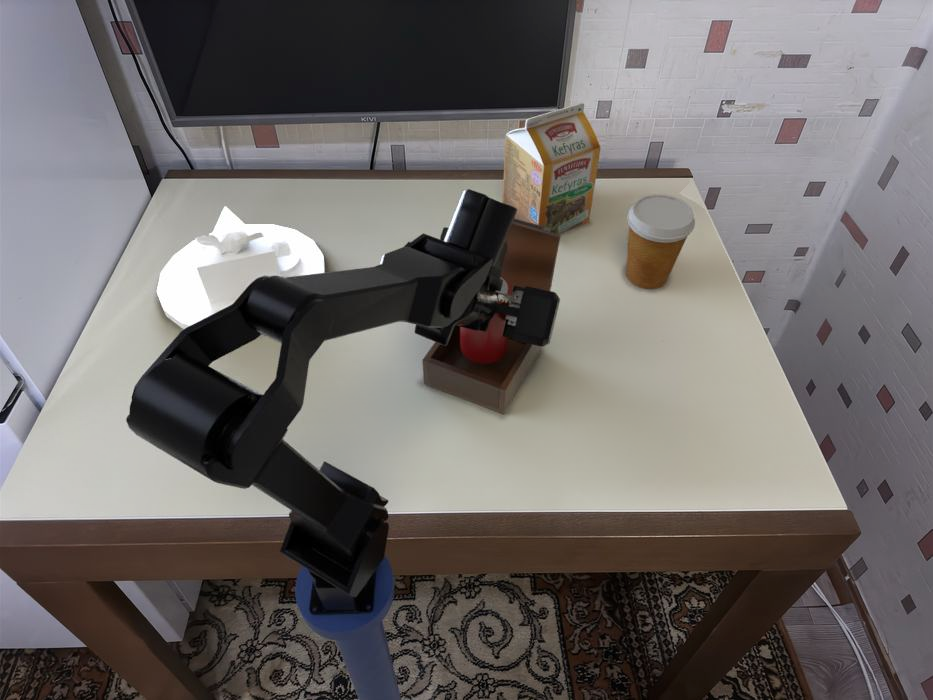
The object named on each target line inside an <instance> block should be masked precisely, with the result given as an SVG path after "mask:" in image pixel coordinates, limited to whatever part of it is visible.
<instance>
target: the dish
mask: <svg viewBox="0 0 933 700" xmlns="http://www.w3.org/2000/svg"><path fill="white" fill-rule="evenodd" d="M194 239H195V240H192V241H191V242H190V243H188V244H187V245H186V246H184V247H183V248H182V249H180V250H179V251H178V252H177V253H175V254H174V255H172V257H171V258H170V260H169V261H168V262H167V264H165V266H164V267H163V269H162V270H161V272H160V274H159V279H158V283H157V288H156V294H157V297H158V299H159V302H160V305H161V307H162V309H163V312H164V314H165V316H166V318H168V319H169V320H171V321H172V322H173V323H175V324H176V325H177V326H179V327H180V328H181V329H182V330H184V329H185V328H187V327H189V326H191V325H193V324H195V323H197V322H199V321H201V320H203V319H205V318H206V317H208V316H210V315H212V314H214V313H216V312H218V311H220V310H222V309H224V308H226V307H228V306H230V305H232V304H233V303H234V302H235V301H236V300H237V299H238V297H239V296H240V295H241V294H242V293H243V292H244V290H245V289H246V288H247V287H248V286H249V285H250V284H251V283H252V282H253V281H254V280H255V279H256V278H259V277H261V276H264V275H265V276H273V275H276V276H280V277H284V278H285V277H293V276H302V275H310V274H319V273H326V261H325V255H324V254H323V251H321V249H320V248H319V246H318V245H317V244H316V241H314V239H312V238H310V237H309V236H307V235H305V234H303V233H302V232H300V231H298V230H297V229H293V228H289V227H285V226H281V225H277V224H272V223H270V224H268V223H267V224H264V223H263V224H262V223H261V224H260V223H257V224H255V223H254V224H253V223H250V224H245V222H243V221H242V220H241V218H239V217H238V216H237V215H236V214H235V213H233V212H232V211H231V210H230V209H229V208H228V207H227V206H225V205H224V207H223V209H222V211H221V213H220V215H219V217H218V219H217V222H216V224H215V226H214V228H213V231H212V232H211V233H209V234H208V233H204V234H200V235H196V236H195V237H194Z"/></svg>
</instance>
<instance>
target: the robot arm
mask: <svg viewBox="0 0 933 700" xmlns="http://www.w3.org/2000/svg"><path fill="white" fill-rule="evenodd" d="M516 213H517V209H516V208H515V207H513V206H510V205H507V204H504V203H503V202H501V201H499V200H497V199H494V198H491V197H489V196H488V195H487V194H484V193H482V192H478V191H476V190H472V189H471V188H468V189H465V190H462V192H461V194H460V197H459V200H458V202H457V205H456V207H455V210H454V213H453V215H452V218H451V220H450V223H449V226H448V227H445V226H444V227H443V228H442V230H441V234H440V237H439V238H437V237H434V236H432V235H429V234H426V233H422V234H420V235H419V236H417V237H416V238H414V239H413V240H412V241H408V242H407V243H406V244H405V245H403V247H399V248H397V249H394V250H391V251H389V252H386V253H384V254H383V255H382V256H381V259H380V263H379V264H377V265H375V266H370V267H363V268H354V269H345V270H337V271H328V272H325V273H319V274H310V275H302V276H293V277H285V278H284V277H280V276H276V275H273V276H265V275H264V276H261V277H259V278H256V279H255V280H254V281H253V282H252V283H251V284H250V285H249V286H248V287H247V288H246V289H245V290H244V292H243V293H242V294H241V295H240V296H239V297H238V299H237V300H236V301H235V302H234V303H233V304H232V305H230V306H228V307H226V308H224V309H222V310H220V311H218V312H216V313H214V314H212V315H210V316H208V317H206V318H205V319H203V320H201V321H199V322H197V323H195V324H193V325H191V326H189V327H187V328H185V329H182V331H180V332H179V334H177V336H176V337H175V338H174V339H172V341H171V342H170V343H169V345H167V347H166V348H165V349H164V350H163V351H162V353H160V355H159V356H158V357H157V358H156V359H155V361H154V362H153V363H152V364H151V365H150V366H149V367H148V369H146V371H145V372H144V373H143V374H142V375H141V376H140V378H139V379H138V381H137V382H136V384H135V385H134V387H133V391H132V395H131V401H130V405H129V411H128V412H129V414H128V415H127V416H126V420H125V422H126V423H127V426H128V428H129V429H130V431H131V432H133V433H134V434H135V435H136V436H137V437H139V438H140V439H142V440H144V441H145V442H147V443H149V444H150V445H152V446H154V447H156V448H157V449H159V450H160V451H162V452H164V453H166V454H167V455H169V456H170V457H172V458H173V459H176V460H177V461H179V462H181V463H182V464H184V465H185V466H187V467H189V468H190V469H192V470H194V471H195V472H197V473H199V474H200V475H202V476H204V477H206V478H207V479H209V480H211V481H212V482H214V483H216V484H219V485H223V486H224V485H225V486H228V487H229V486H230V487H234V488H239V489H242V490H245V489H248V488H249V489H250V487H251V486H253V487H254V488H255V489H257V490H259V491H261V492H262V493H264V494H265V495H267V496H268V497H270V498H271V499H273V500H275V501H276V502H278V503H279V504H281V505H282V506H284V507H285V508H287V509H289V510H290V511H289V513H288V518H289V519H290V523H289V526H288V529H287V531H286V534H285V537H284V539H283V542H282V544H281V547H280V550H279V553H280V554H282V555H283V556H285V557H287V558H288V559H290V560H292V561H293V562H294V563H296V564H298V565H300V566H301V567H302V566H303V567H305V568H306V569H308V570H309V573H310V576H311V578H312V581H313V582H312V590H311V598H310V605H309V611H310V613H311V614H312V615H335V614H368V613H371V612H372V611H373V609H374V597H375V581H376V569H377V567H378V566H379V565H380V563H381V562H382V560H383V559H384V555H385V554H386V548H387V542H388V536H389V529H390V524H389V522H388V520H389V511H388V509H387V507H385V506H386V505H387V504H388V503H389V501H390V500H389V499H387V498H385V497H383V496H381V495H380V493H379V491H378V490H376V488H375V487H373V486H371V485H369V484H368V483H365V482H364V481H362V480H360V479H358V478H356V477H355V476H353V475H351V474H349V473H347V472H346V471H343V470H342V469H340V468H338V467H336V466H335V465H332V464H331V463H329V462H328V461H325V460H324V461H323V462H322V464H321V467H320V468H318V467H316V466H315V465H314V464H313V463H311V462H310V461H309V460H308V459H307V458H306V457H305V456H303V455H302V454H301V453H300V452H299V451H297V450H296V449H295V448H294V447H293V446H292V445H290V444H289V443H288V442H287V441H286V440H285V439H284V438H285V436H286V434H287V433H288V431H289V429H288V427H289V426H290V425H291V424H292V423H293V421H294V420H295V419H296V417H297V415H298V414H299V413H300V411H301V410H302V408H303V405H304V401H305V394H306V388H307V380H308V373H309V365H310V361H311V359H312V358H313V357H314V355H316V352H317V351H318V350H319V349H320V347H321V346H322V345H323V343H324V342H327V341H331V340H335V339H338V338H342V337H346V336H349V335H353V334H357V333H361V332H365V331H369V330H373V329H376V328H380V327H383V326H388V325H392V324H395V323H409V324H412V325H415V326H414V334H415V335H417V336H420V337H422V338H424V339H427V340H430V341H432V342H434V343H435V342H437V343H439V344H442V345H444V346H447V345H448V343H449V340H450V338H451V335H452V332H453V330H454V327H455V326H459V327H464V328H468V329H472V330H476V331H485V332H487V329H488V325H489V322H490V321H491V319H492V318H493V316H494V315H495V313H501V314H505V315H506V318H505V319H506V323H505V327H504V331H503V337H508V338H512V339H513V340H515V341H519V342H524V343H528V344H532V345H537V346H541V348H544V347H546V346H548V345H550V343H551V340H552V336H553V333H554V332H553V331H554V328H555V324H556V319H557V314H558V311H559V306H560V302H561V298H560V297H559V296H558V294H557V293H556V292H555V291H547V290H542V289H537V288H533V287H528V286H526V287H525V288H524V287H519V286H514V288H513V292H512V294H511V295H508V294H503V293H499V292H496V291H501V288H502V284H503V280H502V279H500V277H501V273H502V269H501V268H502V264H503V261H504V258H505V255H506V253H507V242H506V238H507V236H508V233H509V230H510V228H511V225H512V223H513V220H514V218H515V215H516ZM498 299H499V302H501V300H502V303H504V301H505V303H508V301H509V305H508V306H506V305H502V304H498ZM260 336H264V337H266V338H268V339H270V340H273V341H275V342H277V343H279V344H280V351H279V357H278V361H277V368H276V374H275V378H274V380H273V381H272V383H270V385H269V387H268V388H267V389H266V390H265V391H264V393H263V394H262V393H260V392H259V391H258V390H254V389H253V388H251V387H250V386H247V385H245V384H243V383H242V382H240V381H238V380H236V379H234V378H232V377H230V376H228V375H227V374H224V373H223V372H220V371H219V370H217V369H214V367H211V366H210V365H211V364H212V363H213V362H215V361H216V360H219V359H221V358H222V357H225V356H226V355H228V354H231V353H232V352H234V351H236V350H238V349H241V348H242V347H244V346H245V345H248V344H249V343H252V342H254V341H255V340H257V339H258V338H259V337H260ZM385 556H386V555H385ZM368 606H370V607H371V608H370V609H366V608H367V607H368ZM313 608H317V609H316V610H315V611H312V609H313Z"/></svg>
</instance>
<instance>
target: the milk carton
mask: <svg viewBox="0 0 933 700" xmlns="http://www.w3.org/2000/svg"><path fill="white" fill-rule="evenodd" d="M584 111H585V104H584V103H583V102H579V103H576V104H572V105H569V106H566V107H563V108H562V107H561V108H559V109H556V110H552V111H549V112H546V113H545V112H544V113H542V114H539V115H535V116H532V117H529V118H527V119H526V120H525V123H524V126H521V127H519V128H516V129H512V130H510V131H508V132H507V133H505V138H504V139H505V140H504V142H505V143H504V162H503V165H504V166H503V181H502V182H503V183H502V203H504V204H507V205H510V206H513V207H515V208H516V209H517V213H516V215H515V218H516V219H519V220H523V221H526V222H530V223H533V224H537V225H540V226H543V227H544V231H547V232H551V233H554V234H558V235H561V234H562V233H565V232H568V231H571V230H573V229H575V228H578V227H581V226H585V225H586V224H589V223H590V216H591V211H592V204H593V198H594V191H595V187H596V180H597V173H598V167H599V161H600V154H601V149H602V147H601V144H600V141H599V138H598V136H597V134H596V132H595V130H594V128H593V126H592V124H591V122H590V120H589V119H588V117H587V115H586V113H585V112H584Z"/></svg>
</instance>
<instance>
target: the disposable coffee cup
mask: <svg viewBox="0 0 933 700" xmlns="http://www.w3.org/2000/svg"><path fill="white" fill-rule="evenodd" d="M626 219H627V222H628V236H627V251H626V252H627V253H626V271H625V276H626V278H627V280H628V281H629V282H630V283H631V284H632V285H634V286H636V287H638V288H641V289H645V290H655V289H659V288H662V287H663V286H665V284H666V283H667V282H668V280H669V277H670V275H671V272H672V271H673V268H674V266H675V265H676V262H677V260H678V257H679V255H680V254H681V251H682V249H683V247H684V244H685V243H686V240H687V238H688V236H689V235H690V234H691V233H693V230H694V229H695V226H696V220H695V219H696V218H695V214H694V210H693V208H692V207H691V206H690V204H689V203H687V202H686V201H684V200H682V199H681V198H679V197H677V196H673V195H669V194H664V193H651V194H650V193H649V194H646V195H642V196H641V197H638V198H637V199H636V200H635V201H634V202H633V203H632V205H631V206H630V208H629V209H628V210H627V213H626Z"/></svg>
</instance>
